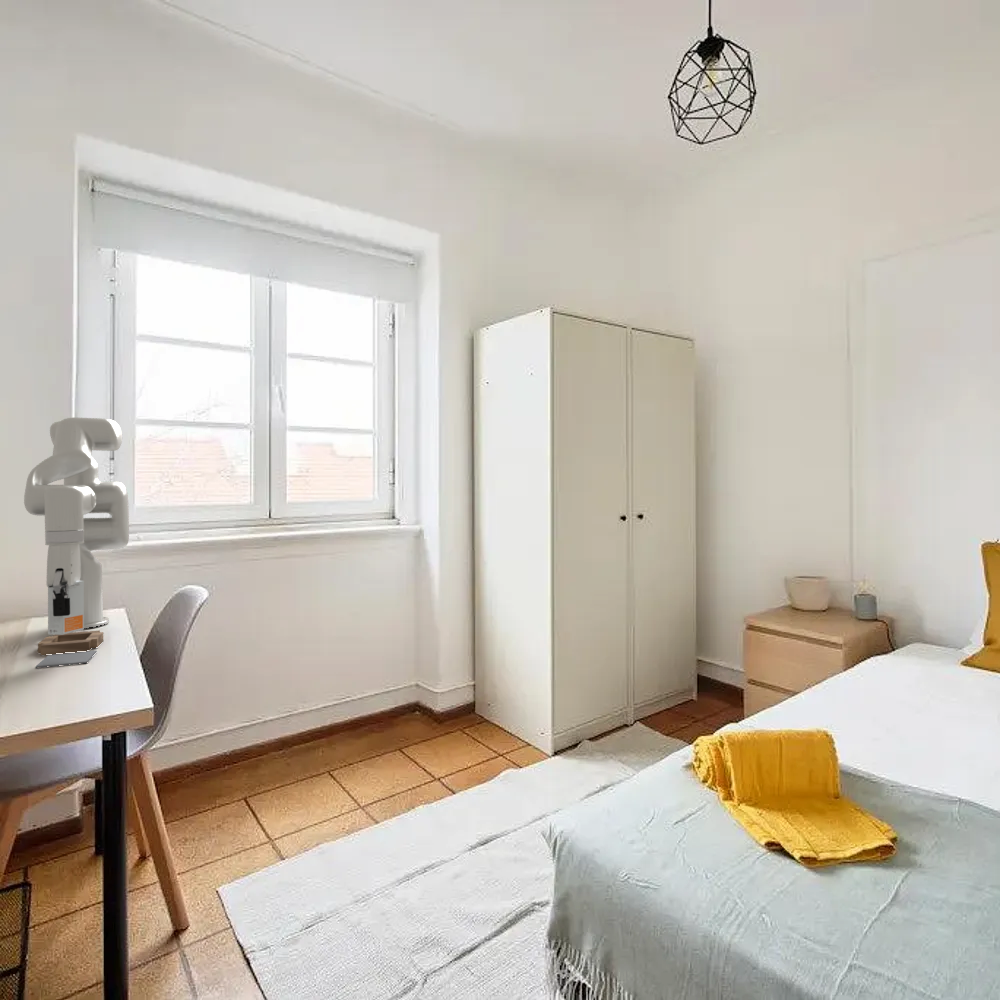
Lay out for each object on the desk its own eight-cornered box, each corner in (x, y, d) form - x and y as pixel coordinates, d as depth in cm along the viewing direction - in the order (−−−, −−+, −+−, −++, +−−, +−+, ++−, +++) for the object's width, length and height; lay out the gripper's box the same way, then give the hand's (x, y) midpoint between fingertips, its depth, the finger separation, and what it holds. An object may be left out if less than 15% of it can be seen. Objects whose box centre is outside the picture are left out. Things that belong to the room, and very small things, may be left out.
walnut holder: (49, 643, 162) (49, 634, 162) (105, 639, 167) (105, 629, 167) (34, 656, 151) (34, 646, 150) (94, 651, 155) (94, 641, 155)
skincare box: (62, 635, 144) (62, 583, 143) (47, 634, 144) (46, 583, 144) (85, 629, 149) (84, 580, 149) (70, 629, 150) (69, 580, 150)
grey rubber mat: (48, 656, 150) (48, 654, 150) (96, 652, 154) (96, 650, 154) (35, 668, 141) (35, 666, 141) (87, 663, 145) (87, 661, 145)
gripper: (56, 535, 153) (57, 606, 154) (33, 541, 137) (35, 621, 137) (91, 534, 156) (93, 604, 156) (74, 540, 140) (75, 618, 140)
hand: (66, 611), depth 147 cm, fingers closed on skincare box, 7 cm apart
